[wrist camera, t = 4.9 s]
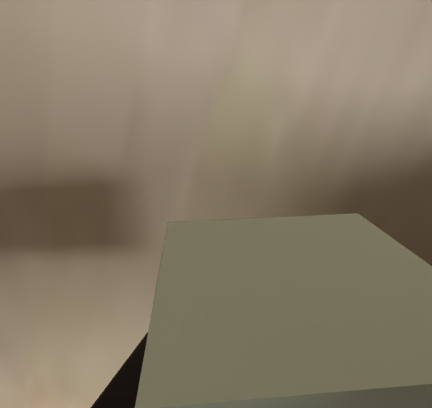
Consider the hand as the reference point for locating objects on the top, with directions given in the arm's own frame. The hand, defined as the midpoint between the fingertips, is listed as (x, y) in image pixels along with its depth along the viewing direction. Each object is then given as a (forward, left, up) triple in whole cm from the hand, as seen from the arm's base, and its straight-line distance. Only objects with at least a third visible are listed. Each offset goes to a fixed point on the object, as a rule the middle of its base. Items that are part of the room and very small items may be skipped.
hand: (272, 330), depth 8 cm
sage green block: (0, 0, -1) cm, 1 cm away
